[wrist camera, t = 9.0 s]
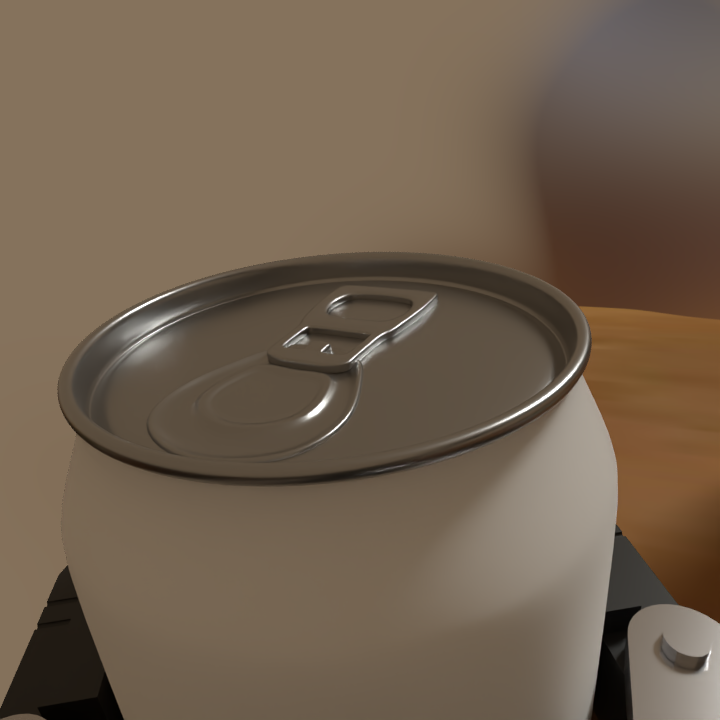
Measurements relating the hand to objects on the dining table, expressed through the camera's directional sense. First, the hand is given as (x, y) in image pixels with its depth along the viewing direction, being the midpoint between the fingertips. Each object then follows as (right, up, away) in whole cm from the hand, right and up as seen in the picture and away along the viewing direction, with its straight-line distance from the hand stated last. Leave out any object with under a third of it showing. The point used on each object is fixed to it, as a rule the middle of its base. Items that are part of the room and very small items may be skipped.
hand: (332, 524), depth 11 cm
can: (+1, -8, +1) cm, 8 cm away
